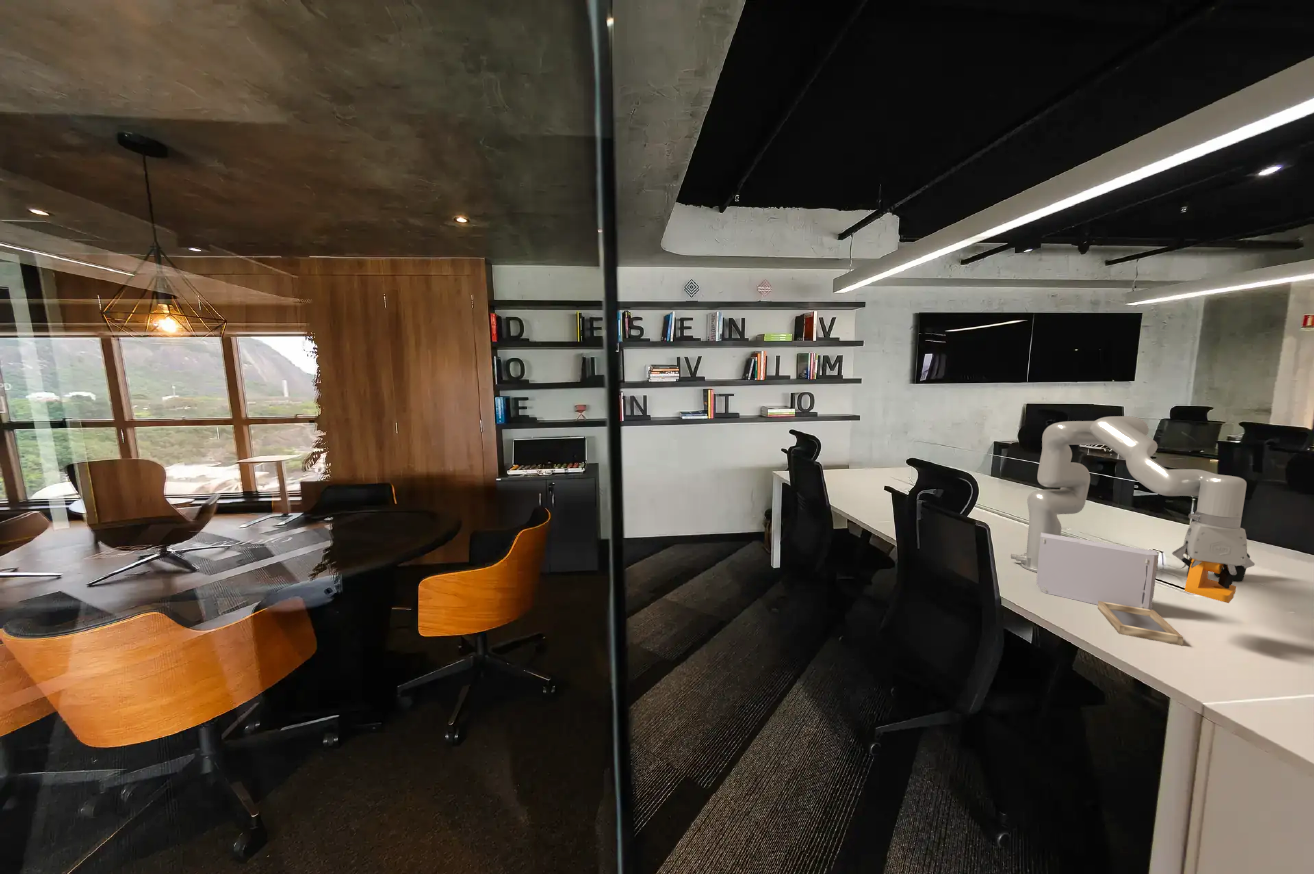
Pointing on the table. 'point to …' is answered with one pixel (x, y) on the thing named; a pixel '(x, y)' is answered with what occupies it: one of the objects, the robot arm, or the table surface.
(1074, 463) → the robot arm
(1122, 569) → the game console
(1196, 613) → the table surface
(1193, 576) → the bracket
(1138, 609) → the wooden tray
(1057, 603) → the table surface
